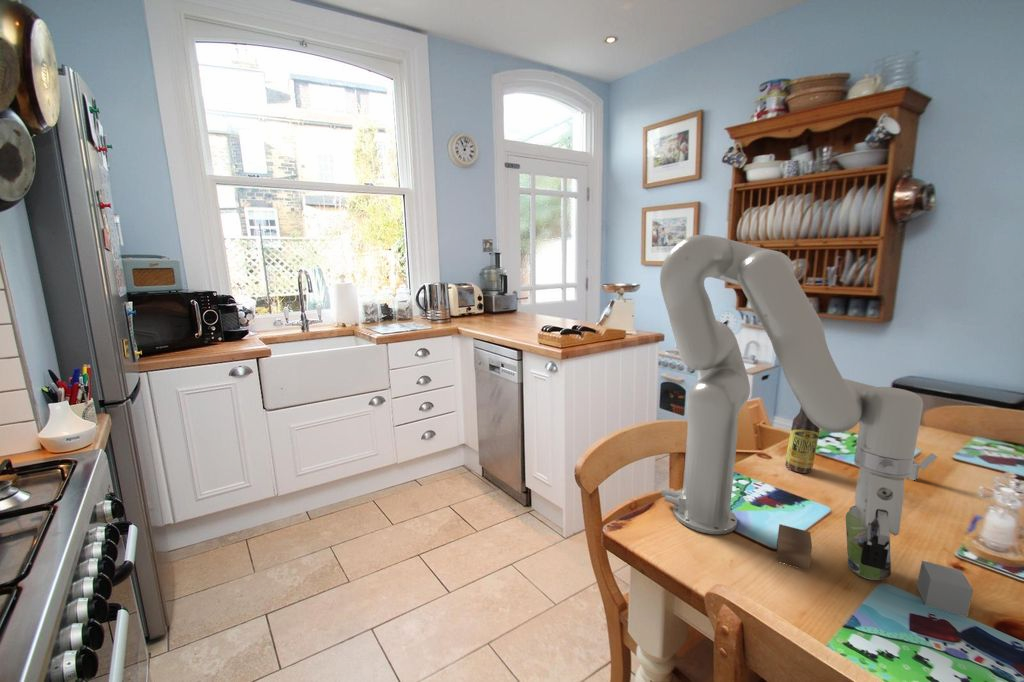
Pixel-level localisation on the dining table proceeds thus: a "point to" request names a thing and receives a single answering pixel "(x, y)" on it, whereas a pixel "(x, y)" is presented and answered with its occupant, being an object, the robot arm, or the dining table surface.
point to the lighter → (923, 465)
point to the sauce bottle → (802, 444)
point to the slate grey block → (944, 588)
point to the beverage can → (855, 546)
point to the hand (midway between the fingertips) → (867, 549)
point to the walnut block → (794, 547)
